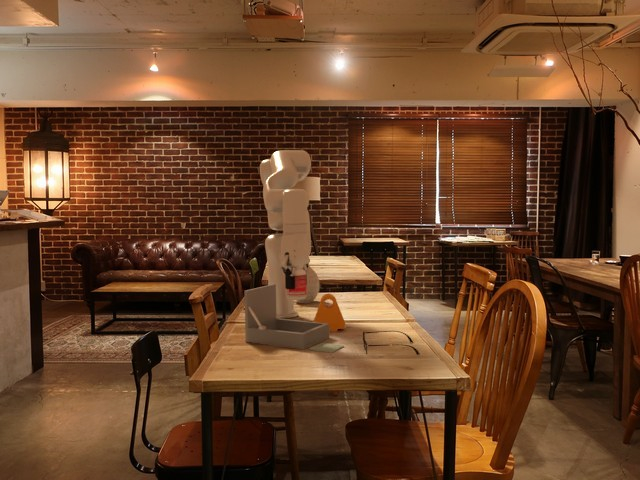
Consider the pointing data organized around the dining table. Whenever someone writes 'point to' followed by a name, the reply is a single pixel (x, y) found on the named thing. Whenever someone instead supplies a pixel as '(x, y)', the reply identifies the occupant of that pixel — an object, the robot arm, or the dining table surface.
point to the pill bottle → (298, 284)
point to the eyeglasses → (387, 345)
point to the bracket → (330, 314)
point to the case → (277, 323)
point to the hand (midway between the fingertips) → (296, 286)
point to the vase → (311, 286)
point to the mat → (327, 347)
